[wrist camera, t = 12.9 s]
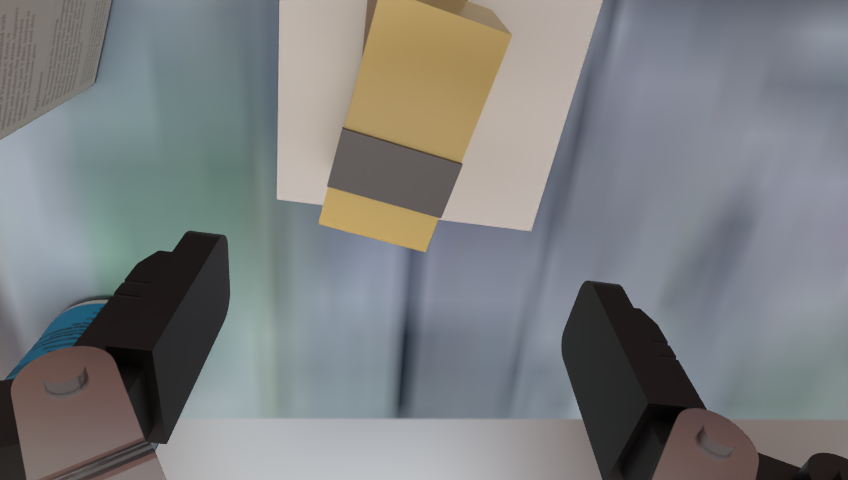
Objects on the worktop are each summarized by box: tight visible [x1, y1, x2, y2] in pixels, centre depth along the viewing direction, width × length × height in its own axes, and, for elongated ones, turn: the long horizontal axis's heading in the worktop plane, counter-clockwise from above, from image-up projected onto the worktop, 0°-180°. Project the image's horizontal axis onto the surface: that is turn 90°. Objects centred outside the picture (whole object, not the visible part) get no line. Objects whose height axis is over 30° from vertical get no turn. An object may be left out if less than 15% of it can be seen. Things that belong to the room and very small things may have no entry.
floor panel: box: [277, 0, 603, 231], centre depth 24 cm, size 13×12×1 cm
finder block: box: [318, 0, 512, 252], centre depth 21 cm, size 5×9×5 cm, turn 161°
